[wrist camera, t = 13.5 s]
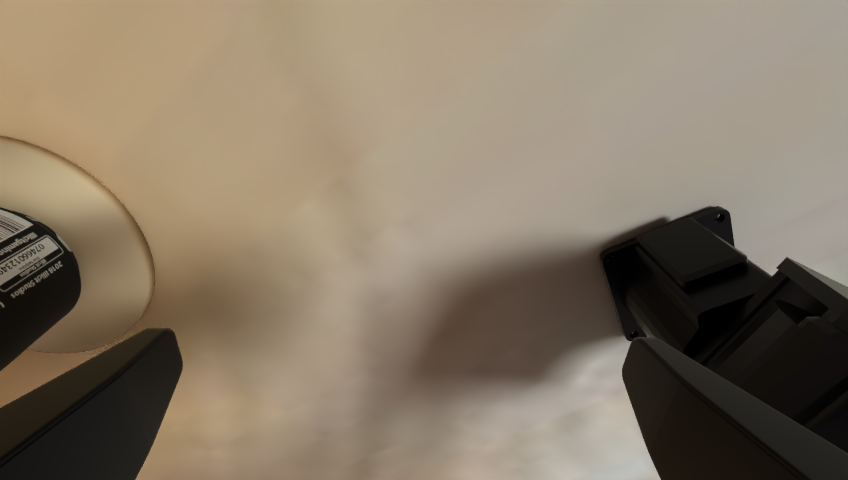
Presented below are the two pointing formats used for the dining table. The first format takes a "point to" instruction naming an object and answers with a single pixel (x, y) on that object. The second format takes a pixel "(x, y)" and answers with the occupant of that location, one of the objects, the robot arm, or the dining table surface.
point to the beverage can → (32, 282)
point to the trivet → (81, 244)
